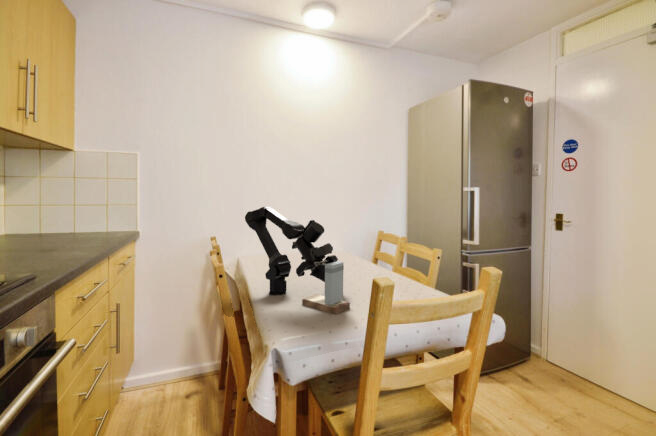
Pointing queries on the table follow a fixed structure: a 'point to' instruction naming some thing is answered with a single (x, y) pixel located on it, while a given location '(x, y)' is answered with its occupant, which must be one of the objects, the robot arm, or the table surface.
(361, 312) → the table surface
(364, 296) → the table surface
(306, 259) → the robot arm
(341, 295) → the grey tall block
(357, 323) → the table surface
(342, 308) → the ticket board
